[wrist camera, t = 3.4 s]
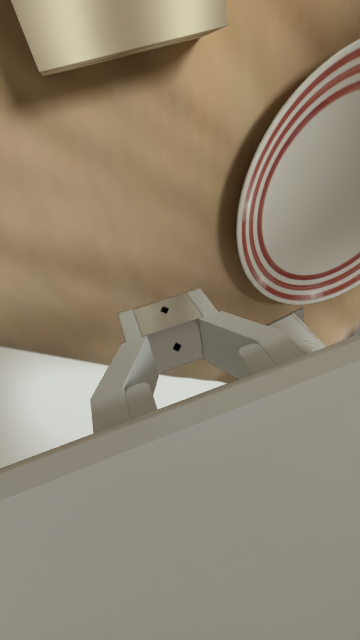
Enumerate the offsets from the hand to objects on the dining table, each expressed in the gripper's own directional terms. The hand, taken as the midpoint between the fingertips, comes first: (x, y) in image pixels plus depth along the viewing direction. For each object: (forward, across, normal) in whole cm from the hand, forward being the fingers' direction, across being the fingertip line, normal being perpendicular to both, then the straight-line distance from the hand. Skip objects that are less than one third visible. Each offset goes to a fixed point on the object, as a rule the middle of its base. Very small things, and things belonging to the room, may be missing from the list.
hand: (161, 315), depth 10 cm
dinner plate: (+20, -26, +6) cm, 33 cm away
